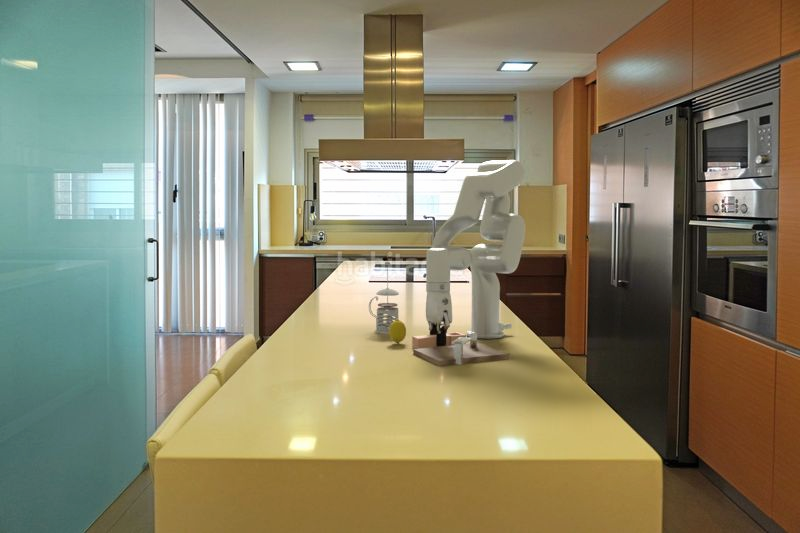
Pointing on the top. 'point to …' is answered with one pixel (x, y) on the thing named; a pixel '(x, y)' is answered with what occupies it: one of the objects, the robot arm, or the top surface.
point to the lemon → (397, 331)
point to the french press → (385, 309)
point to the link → (434, 340)
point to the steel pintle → (473, 340)
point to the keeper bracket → (459, 349)
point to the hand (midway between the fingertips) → (437, 343)
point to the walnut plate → (470, 355)
